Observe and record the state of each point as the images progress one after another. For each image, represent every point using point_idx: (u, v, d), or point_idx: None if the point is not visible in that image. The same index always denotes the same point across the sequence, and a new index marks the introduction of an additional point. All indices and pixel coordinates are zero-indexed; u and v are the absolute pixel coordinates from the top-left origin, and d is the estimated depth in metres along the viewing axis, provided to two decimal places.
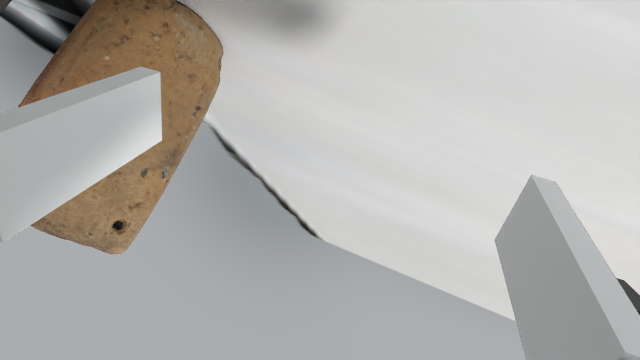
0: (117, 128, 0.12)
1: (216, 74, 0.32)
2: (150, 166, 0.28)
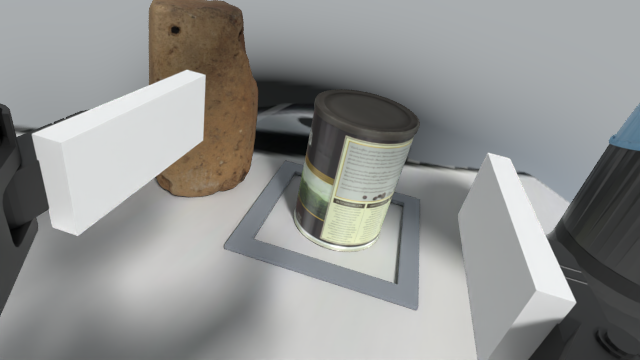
0: (169, 129, 0.13)
1: (168, 175, 0.40)
2: None
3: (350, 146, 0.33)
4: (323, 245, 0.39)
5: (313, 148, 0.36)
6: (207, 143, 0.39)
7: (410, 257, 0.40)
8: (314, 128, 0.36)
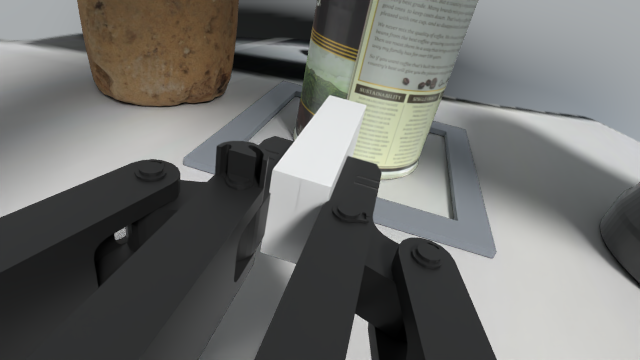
0: None
1: (104, 62, 0.26)
2: None
3: None
4: None
5: (324, 5, 0.23)
6: (162, 13, 0.26)
7: (468, 189, 0.27)
8: None
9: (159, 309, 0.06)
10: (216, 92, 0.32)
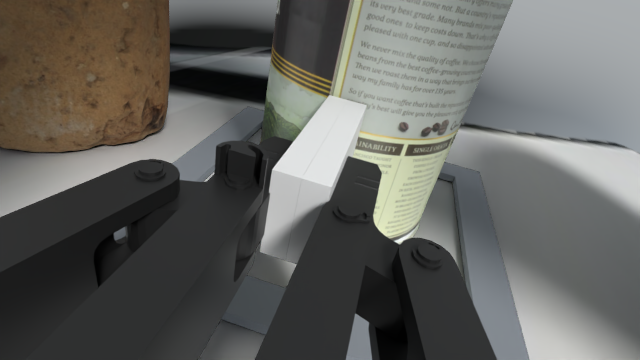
0: None
1: None
2: None
3: None
4: None
5: (284, 13, 0.16)
6: (46, 25, 0.18)
7: (491, 281, 0.18)
8: None
9: (159, 309, 0.06)
10: (148, 129, 0.24)
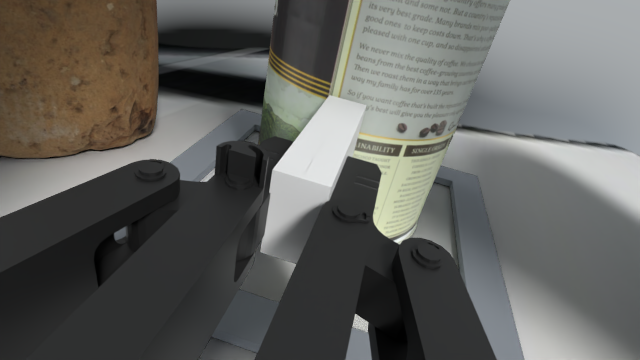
0: None
1: None
2: None
3: None
4: None
5: (282, 15, 0.16)
6: (26, 27, 0.17)
7: (489, 291, 0.18)
8: None
9: (159, 310, 0.06)
10: (136, 133, 0.23)
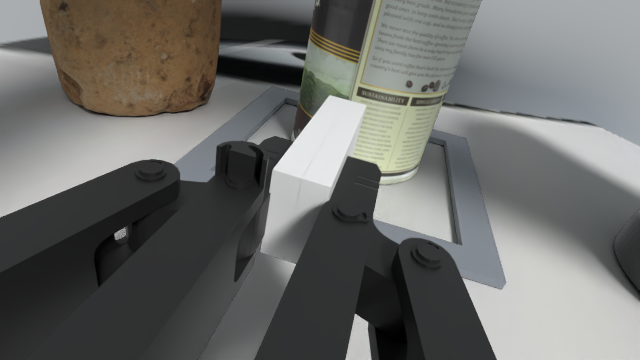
0: None
1: (72, 69, 0.24)
2: None
3: None
4: None
5: (324, 5, 0.22)
6: (136, 15, 0.23)
7: (472, 207, 0.24)
8: None
9: (160, 310, 0.06)
10: (199, 100, 0.30)
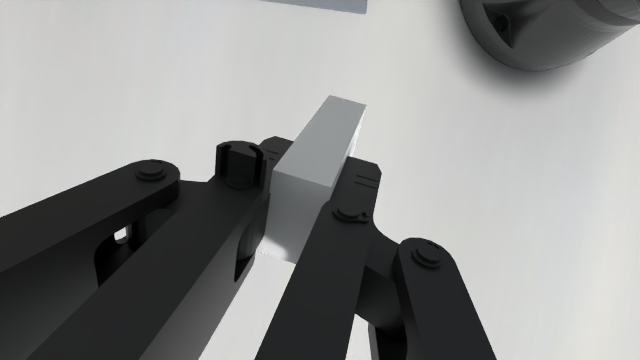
0: None
1: None
2: None
3: None
4: None
5: None
6: None
7: None
8: None
9: (159, 310, 0.06)
10: None
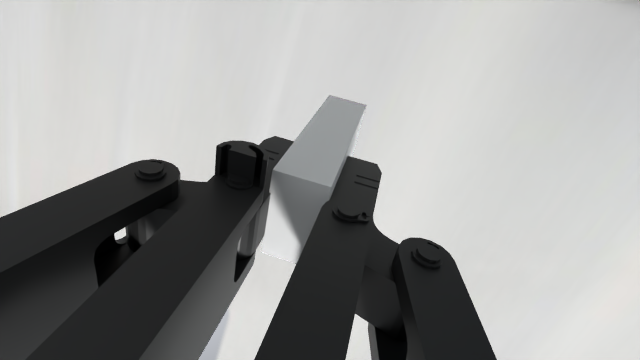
0: None
1: None
2: None
3: None
4: None
5: None
6: None
7: None
8: None
9: (160, 310, 0.06)
10: None
